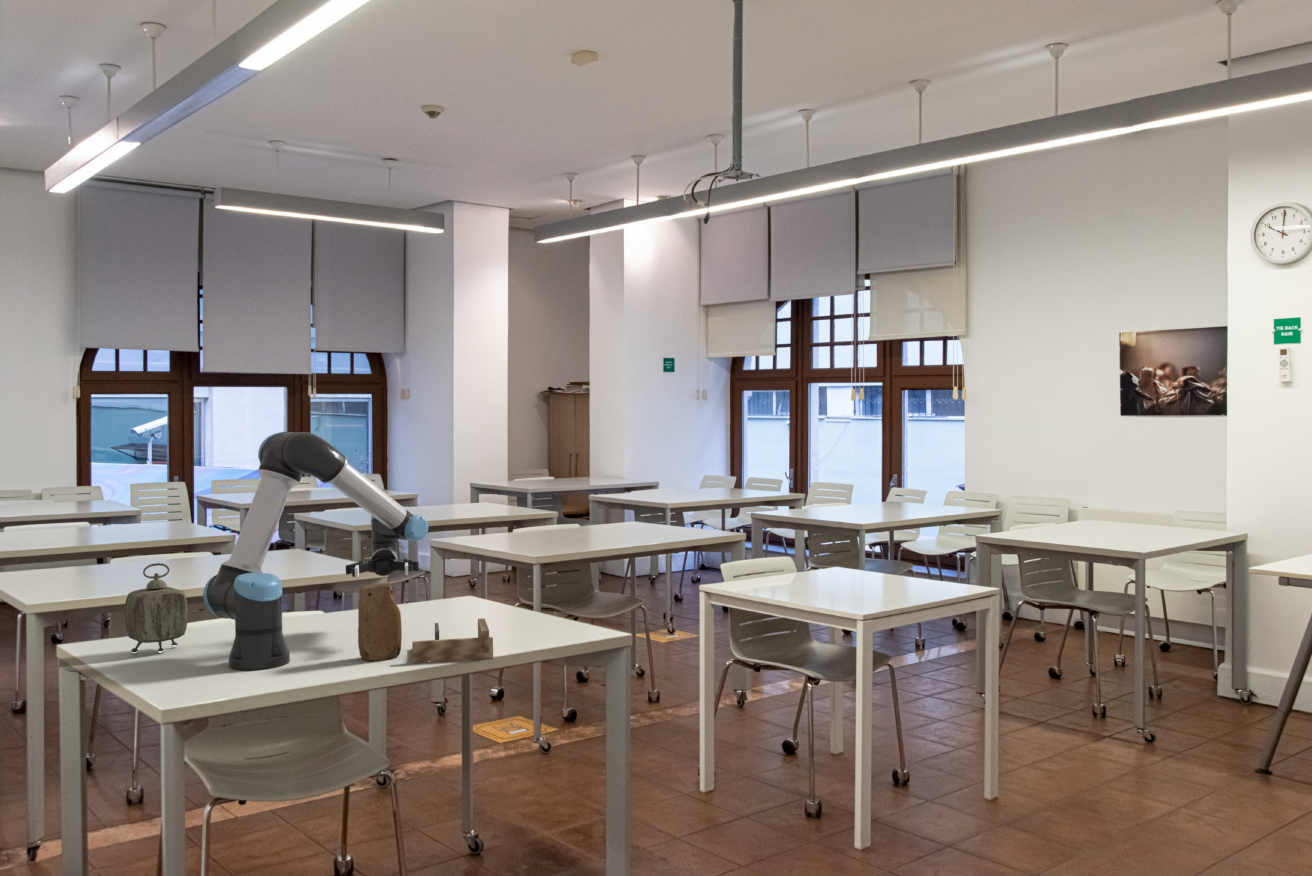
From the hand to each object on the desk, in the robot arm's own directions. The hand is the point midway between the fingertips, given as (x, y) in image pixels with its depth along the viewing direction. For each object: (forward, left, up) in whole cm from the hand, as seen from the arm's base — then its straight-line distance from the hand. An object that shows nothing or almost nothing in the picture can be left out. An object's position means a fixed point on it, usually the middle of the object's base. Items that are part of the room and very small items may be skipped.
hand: (381, 571), depth 287 cm
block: (0, -11, -22) cm, 24 cm away
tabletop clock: (-61, +14, -22) cm, 67 cm away
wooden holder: (+19, -11, -22) cm, 31 cm away
